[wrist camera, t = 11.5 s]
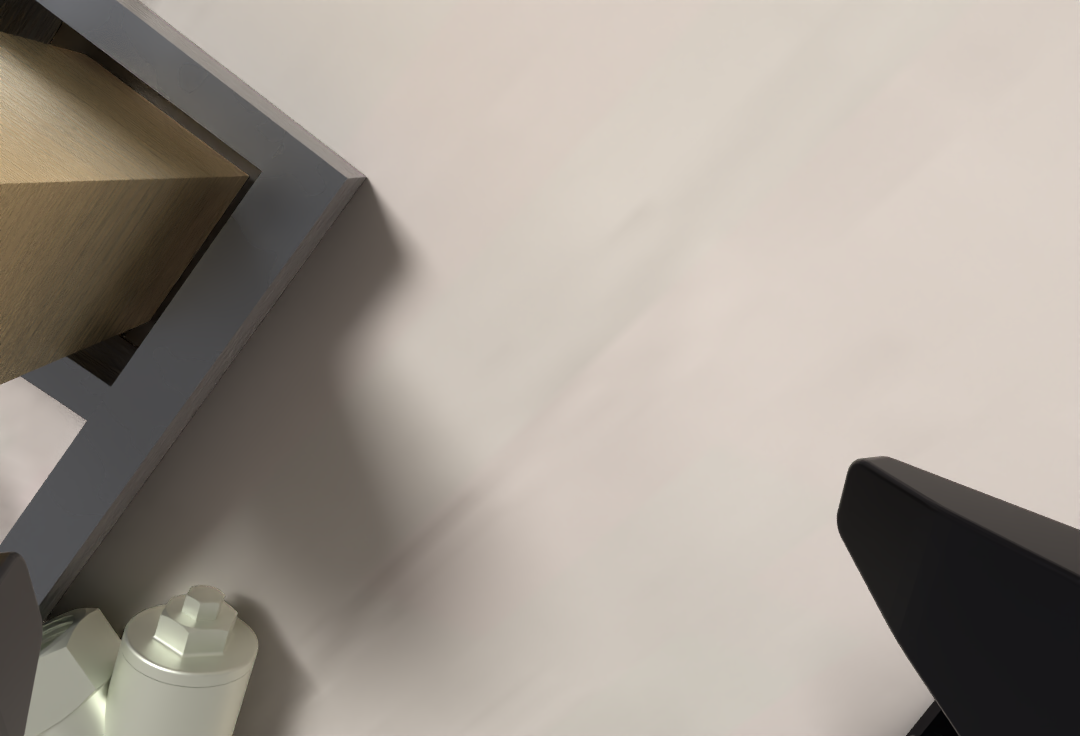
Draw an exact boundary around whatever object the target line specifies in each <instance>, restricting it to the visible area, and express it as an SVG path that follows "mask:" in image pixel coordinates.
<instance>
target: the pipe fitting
mask: <svg viewBox="0 0 1080 736" xmlns="http://www.w3.org/2000/svg"><path fill="white" fill-rule="evenodd" d="M224 597H225V594H224V593H222V592H221V591H220V590H219V589H217V588H214V587H211V586H206V585H199V586H193V587H191V588H190V590H189V591H188V593H187V594H185V595H179V596H174V597H172V598H171V599H170V601H169V602H168V603H167V604H164V605H159V606H155V607H151V608H149V609H146V610H144V611H142V612H140V613H138V614H137V615H135V616H134V617H133V618H132V619H131V620H130V621H129V622H128V624H127V625H126V627H125V630H124V633H123V637H122V641H121V640H120V638H119V637H118V635H117V634H116V632H115V631H114V630H113V628H112V627H111V625H110V624H109V622H108V621H107V619H106V618H105V617H104V615H103V614H102V612H101V611H100V609H99V608H80V609H75V610H72V611H69V612H67V613H64V614H62V615H60V616H57V617H55V618H53V619H51V620H49V621H47V622H45V623H44V624H42V629H43V633H42V643H41V649H40V654H39V660H38V665H37V670H36V675H35V681H34V686H33V691H32V697H31V702H30V707H29V713H28V718H27V723H26V729H25V734H24V736H232V735H233V731H234V728H235V725H236V722H237V718H238V715H239V712H240V708H241V705H242V702H243V699H244V695H245V692H246V689H247V685H248V682H249V679H250V675H251V672H252V669H253V666H254V662H255V659H256V656H257V653H258V647H259V645H258V639H257V637H256V635H255V633H254V631H253V630H252V629H251V628H250V627H249V626H248V625H247V624H246V623H245V622H244V621H242V620H241V619H239V618H238V617H237V615H238V612H237V611H236V610H235V609H234V608H233V607H231V606H230V605H229V604H227V603H226V602H224V601H223V600H224Z"/></svg>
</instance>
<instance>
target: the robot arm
mask: <svg viewBox="0 0 1080 736" xmlns="http://www.w3.org/2000/svg"><path fill="white" fill-rule="evenodd" d="M837 526H838V530H839V533H840V536H841V538H842V540H843V542H844V544H845V546H846V547H847V549H848V551H849V553H850V555H851V557H852V559H853V561H854V563H855V564H856V566H857V568H858V570H859V572H860V574H861V576H862V578H863V579H864V581H865V583H866V585H867V587H868V589H869V591H870V593H871V595H872V596H873V598H874V600H875V602H876V604H877V606H878V608H879V610H880V611H881V613H882V615H883V617H884V619H885V621H886V623H887V625H888V626H889V628H890V630H891V632H892V633H893V635H894V637H895V639H896V640H897V642H898V644H899V645H900V647H901V648H902V650H903V652H904V653H905V655H906V656H907V658H908V660H909V661H910V663H911V664H912V666H913V667H914V669H915V670H916V672H917V673H918V675H919V676H920V678H921V679H922V681H923V682H924V684H925V685H926V687H927V688H928V690H929V691H930V693H931V694H932V696H933V697H934V699H935V701H934V702H933V703H932V705H931V706H930V707H929V708H928V709H927V711H926V712H925V713H924V714H923V716H922V717H921V718H920V719H919V720H918V722H917V723H916V724H915V725H914V727H913V728H912V729H911V730H910V732H909V733H908V734H907V735H906V736H1080V530H1079V529H1076V528H1073V527H1071V526H1068V525H1066V524H1063V523H1060V522H1058V521H1055V520H1053V519H1050V518H1047V517H1045V516H1042V515H1039V514H1037V513H1034V512H1032V511H1029V510H1026V509H1024V508H1021V507H1019V506H1016V505H1013V504H1011V503H1008V502H1006V501H1003V500H1000V499H998V498H995V497H992V496H990V495H987V494H985V493H982V492H979V491H977V490H974V489H972V488H969V487H966V486H964V485H961V484H959V483H956V482H953V481H951V480H948V479H945V478H943V477H940V476H938V475H935V474H932V473H930V472H927V471H925V470H922V469H919V468H917V467H914V466H912V465H909V464H906V463H904V462H901V461H898V460H896V459H893V458H890V457H886V456H879V457H871V458H862V459H857V460H855V461H854V462H853V463H852V464H851V465H850V467H849V469H848V472H847V476H846V480H845V484H844V488H843V492H842V496H841V500H840V504H839V508H838V512H837ZM42 633H43V629H42V618H41V614H40V610H39V607H38V603H37V600H36V596H35V593H34V589H33V586H32V582H31V579H30V575H29V571H28V568H27V565H26V562H25V560H24V559H23V557H22V556H21V555H20V554H18V553H16V552H3V553H0V736H24V734H25V729H26V723H27V718H28V713H29V707H30V702H31V697H32V691H33V686H34V681H35V675H36V670H37V665H38V660H39V654H40V649H41V643H42Z"/></svg>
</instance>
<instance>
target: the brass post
mask: <svg viewBox="0 0 1080 736" xmlns="http://www.w3.org/2000/svg"><path fill="white" fill-rule="evenodd" d="M248 177H249V175H247V174H246V173H245V172H243V171H242V170H241V169H239V168H238V167H237V166H235V165H234V164H233V163H231V162H230V161H229V160H227V159H226V158H225V157H223V156H222V155H221V154H219V153H218V152H217V151H215V150H214V149H212V148H211V147H210V146H208V145H207V144H206V143H204V142H203V141H202V140H200V139H199V138H198V137H196V136H195V135H194V134H192V133H191V132H190V131H188V130H187V129H186V128H184V127H183V126H182V125H180V124H179V123H178V122H176V121H175V120H174V119H172V118H171V117H169V116H168V115H167V114H165V113H164V112H163V111H161V110H160V109H159V108H157V107H156V106H155V105H153V104H152V103H151V102H149V101H148V100H147V99H145V98H144V97H143V96H141V95H140V94H139V93H137V92H136V91H135V90H133V89H132V88H131V87H129V86H128V85H126V84H125V83H124V82H122V81H121V80H120V79H118V78H117V77H116V76H114V75H113V74H112V73H110V72H109V71H108V70H106V69H105V68H104V67H102V66H101V65H100V64H98V63H97V62H96V61H94V60H93V59H92V58H90V57H89V56H87V55H86V54H83V53H79V52H75V51H71V50H68V49H64V48H60V47H57V46H53V45H49V44H45V43H42V42H38V41H34V40H30V39H27V38H23V37H19V36H16V35H12V34H8V33H4V32H1V31H0V384H3V383H5V382H7V381H10V380H12V379H14V378H17V377H19V376H21V375H24V374H26V373H29V372H31V371H33V370H36V369H38V368H40V367H43V366H45V365H47V364H50V363H52V362H54V361H57V360H59V359H61V358H64V357H66V356H69V355H71V354H73V353H76V352H78V351H80V350H83V349H85V348H87V347H90V346H92V345H94V344H97V343H99V342H101V341H104V340H106V339H109V338H111V337H113V336H116V335H118V334H120V333H123V332H125V331H127V330H130V329H132V328H134V327H137V326H139V325H141V324H144V323H146V322H149V321H150V319H151V318H152V316H153V315H154V314H155V312H156V311H157V309H158V308H159V306H160V305H161V303H162V302H163V301H164V299H165V298H166V296H167V295H168V293H169V292H170V290H171V289H172V287H173V286H174V285H175V283H176V282H177V280H178V279H179V277H180V276H181V274H182V273H183V272H184V270H185V269H186V267H187V266H188V264H189V263H190V261H191V260H192V258H193V257H194V256H195V254H196V253H197V251H198V250H199V248H200V247H201V245H202V244H203V243H204V241H205V240H206V238H207V237H208V235H209V234H210V232H211V231H212V230H213V228H214V227H215V225H216V224H217V222H218V221H219V219H220V218H221V216H222V215H223V214H224V212H225V211H226V209H227V208H228V206H229V205H230V203H231V202H232V201H233V199H234V198H235V196H236V195H237V193H238V192H239V190H240V189H241V187H242V186H243V185H244V183H245V182H246V180H247V179H248Z"/></svg>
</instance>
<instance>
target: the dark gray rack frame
mask: <svg viewBox="0 0 1080 736" xmlns="http://www.w3.org/2000/svg"><path fill="white" fill-rule="evenodd" d="M63 21H64V22H65V23H66V24H68V25H69V26H70V27H72V28H73V29H74V30H76V31H77V32H78V33H80V34H81V35H82V36H84V37H85V38H86V39H88V40H89V41H90V42H92V43H93V44H94V45H96V46H97V47H98V48H99V49H101V50H102V51H103V52H105V53H106V54H107V55H109V56H110V57H111V58H113V59H114V60H115V61H117V62H118V63H119V64H121V65H122V66H123V67H125V68H126V69H127V70H129V71H130V72H131V73H133V74H134V75H135V76H137V77H138V78H139V79H141V80H142V81H143V82H144V83H146V84H147V85H148V86H150V87H151V88H152V89H154V90H155V91H156V92H158V93H159V94H160V95H162V96H163V97H164V98H166V99H167V100H168V101H170V102H171V103H172V104H174V105H175V106H176V107H178V108H179V109H180V110H182V111H183V112H184V113H186V114H187V115H188V116H190V117H191V118H192V119H193V120H195V121H196V122H197V123H199V124H200V125H201V126H203V127H204V128H205V129H207V130H208V131H209V132H211V133H212V134H213V135H215V136H216V137H217V138H219V139H220V140H221V141H223V142H224V143H225V144H227V145H228V146H229V147H231V148H232V149H233V150H235V151H236V152H237V153H238V154H240V155H241V156H242V157H244V158H245V159H246V160H248V161H249V162H250V163H252V164H253V165H254V166H256V167H257V168H258V169H260V170H261V171H262V172H261V174H260V175H259V176H258V178H257V179H256V181H255V182H254V184H253V185H252V186H251V188H250V189H249V191H248V192H247V194H246V195H245V196H244V198H243V199H242V201H241V202H240V204H239V205H238V206H237V208H236V209H235V211H234V212H233V214H232V215H231V216H230V218H229V219H228V221H227V222H226V224H225V225H224V226H223V228H222V229H221V231H220V232H219V234H218V235H217V236H216V238H215V239H214V241H213V242H212V244H211V245H210V246H209V248H208V249H207V251H206V252H205V254H204V255H203V256H202V258H201V259H200V261H199V262H198V264H197V265H196V266H195V268H194V269H193V271H192V272H191V274H190V275H189V276H188V278H187V279H186V281H185V282H184V283H183V285H182V286H181V288H180V289H179V291H178V292H177V293H176V295H175V296H174V298H173V299H172V301H171V302H170V303H169V305H168V306H167V308H166V309H165V311H164V312H163V313H162V315H161V316H160V318H159V319H158V321H157V322H156V323H155V325H154V326H153V328H152V329H151V331H150V332H149V333H148V335H147V336H146V338H145V339H144V341H143V342H142V343H141V345H140V346H139V348H138V349H137V348H136V347H134V346H133V345H131V344H130V343H128V342H127V341H126V340H124V339H123V338H121V337H120V336H118V335H116V336H113V337H111V338H109V339H106V340H104V341H101V342H99V343H97V344H94V345H92V346H90V347H87V348H85V349H83V350H80V351H78V352H76V353H73V354H71V355H69V356H66V357H64V358H61V359H59V360H57V361H54V362H52V363H50V364H47V365H45V366H43V367H40V368H38V369H36V370H33V371H31V372H29V373H26V374H24V375H21V377H23V378H24V379H26V380H27V381H29V382H30V383H32V384H33V385H35V386H36V387H38V388H39V389H41V390H42V391H44V392H45V393H47V394H48V395H50V396H51V397H53V398H54V399H56V400H57V401H59V402H60V403H62V404H63V405H65V406H66V407H68V408H69V409H71V410H72V411H74V412H75V413H77V414H78V415H80V416H81V417H83V418H84V419H86V420H87V422H86V423H85V425H84V426H83V428H82V429H81V431H80V432H79V433H78V435H77V436H76V438H75V439H74V441H73V442H72V443H71V445H70V446H69V448H68V449H67V451H66V452H65V453H64V455H63V456H62V458H61V459H60V460H59V462H58V463H57V465H56V466H55V468H54V469H53V470H52V472H51V473H50V475H49V476H48V478H47V479H46V480H45V482H44V483H43V485H42V486H41V488H40V489H39V490H38V492H37V493H36V495H35V496H34V498H33V499H32V500H31V502H30V503H29V505H28V506H27V508H26V509H25V510H24V512H23V513H22V515H21V516H20V518H19V519H18V520H17V522H16V523H15V525H14V526H13V528H12V529H11V530H10V532H9V533H8V535H7V536H6V538H5V539H4V540H3V542H2V543H1V545H0V553H3V552H16V553H18V554H20V555H21V556H22V557H23V559H24V560H25V562H26V565H27V568H28V571H29V575H30V579H31V582H32V586H33V589H34V593H35V596H36V600H37V603H38V607H39V610H40V614H41V618H42V623H43V622H44V620H45V619H46V618H47V616H48V615H49V614H50V612H51V611H52V609H53V608H54V607H55V605H56V604H57V603H58V601H59V600H60V598H61V597H62V596H63V594H64V593H65V592H66V590H67V589H68V587H69V586H70V585H71V583H72V582H73V581H74V579H75V578H76V576H77V575H78V574H79V572H80V571H81V570H82V568H83V567H84V565H85V564H86V563H87V561H88V560H89V559H90V557H91V556H92V554H93V553H94V552H95V550H96V549H97V548H98V546H99V545H100V543H101V542H102V541H103V539H104V538H105V536H106V535H107V534H108V532H109V531H110V530H111V528H112V527H113V525H114V524H115V523H116V521H117V520H118V519H119V517H120V516H121V514H122V513H123V512H124V510H125V509H126V508H127V506H128V505H129V503H130V502H131V501H132V499H133V498H134V497H135V495H136V494H137V492H138V491H139V490H140V488H141V487H142V486H143V484H144V483H145V481H146V480H147V479H148V477H149V476H150V475H151V473H152V472H153V470H154V469H155V468H156V466H157V465H158V464H159V462H160V461H161V459H162V458H163V457H164V455H165V454H166V453H167V451H168V450H169V448H170V447H171V446H172V444H173V443H174V441H175V440H176V439H177V437H178V436H179V435H180V433H181V432H182V430H183V429H184V428H185V426H186V425H187V424H188V422H189V421H190V419H191V418H192V417H193V415H194V414H195V413H196V411H197V410H198V408H199V407H200V406H201V404H202V403H203V402H204V400H205V399H206V397H207V396H208V395H209V393H210V392H211V391H212V389H213V388H214V386H215V385H216V384H217V382H218V381H219V380H220V378H221V377H222V375H223V374H224V373H225V371H226V370H227V369H228V367H229V366H230V364H231V363H232V362H233V360H234V359H235V358H236V356H237V355H238V353H239V352H240V351H241V349H242V348H243V347H244V345H245V344H246V342H247V341H248V340H249V338H250V337H251V335H252V334H253V333H254V331H255V330H256V329H257V327H258V326H259V324H260V323H261V322H262V320H263V319H264V318H265V316H266V315H267V313H268V312H269V311H270V309H271V308H272V307H273V305H274V304H275V302H276V301H277V300H278V298H279V297H280V296H281V294H282V293H283V291H284V290H285V289H286V287H287V286H288V285H289V283H290V282H291V280H292V279H293V278H294V276H295V275H296V274H297V272H298V271H299V269H300V268H301V267H302V265H303V264H304V263H305V261H306V260H307V258H308V257H309V256H310V254H311V253H312V252H313V250H314V249H315V247H316V246H317V245H318V243H319V242H320V240H321V239H322V238H323V236H324V235H325V234H326V232H327V231H328V229H329V228H330V227H331V225H332V224H333V223H334V221H335V220H336V218H337V217H338V216H339V214H340V213H341V212H342V210H343V209H344V207H345V206H346V205H347V203H348V202H349V201H350V199H351V198H352V196H353V195H354V194H355V192H356V191H357V190H358V188H359V187H360V185H361V184H362V183H363V181H364V180H365V179H366V176H365V175H364V174H362V173H361V172H360V171H358V170H357V169H356V168H355V167H353V166H352V165H351V164H349V163H348V162H347V161H346V160H344V159H343V158H342V157H340V156H339V155H338V154H337V153H335V152H334V151H333V150H331V149H330V148H329V147H327V146H326V145H325V144H324V143H322V142H321V141H320V140H318V139H317V138H316V137H315V136H313V135H312V134H311V133H309V132H308V131H307V130H305V129H304V128H303V127H302V126H300V125H299V124H298V123H296V122H295V121H294V120H293V119H291V118H290V117H289V116H287V115H286V114H285V113H284V112H282V111H281V110H280V109H278V108H277V107H276V106H274V105H273V104H272V103H271V102H269V101H268V100H267V99H265V98H264V97H263V96H262V95H260V94H259V93H258V92H256V91H255V90H254V89H252V88H251V87H250V86H249V85H247V84H246V83H245V82H243V81H242V80H241V79H240V78H238V77H237V76H236V75H234V74H233V73H232V72H230V71H229V70H228V69H227V68H225V67H224V66H223V65H221V64H220V63H219V62H218V61H216V60H215V59H214V58H212V57H211V56H210V55H209V54H207V53H206V52H205V51H203V50H202V49H201V48H199V47H198V46H197V45H196V44H194V43H193V42H192V41H190V40H189V39H188V38H187V37H185V36H184V35H183V34H181V33H180V32H179V31H177V30H176V29H175V28H174V27H172V26H171V25H170V24H168V23H167V22H166V21H165V20H163V19H162V18H161V17H159V16H158V15H157V14H156V13H154V12H153V11H152V10H150V9H149V8H148V7H146V6H145V5H144V4H143V3H141V2H140V1H139V0H0V31H1V32H4V33H8V34H12V35H16V36H19V37H23V38H27V39H30V40H34V41H38V42H42V43H45V44H49V43H50V42H51V40H52V38H53V37H54V35H55V34H56V32H57V30H58V29H59V27H60V26H61V24H62V22H63Z"/></svg>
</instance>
